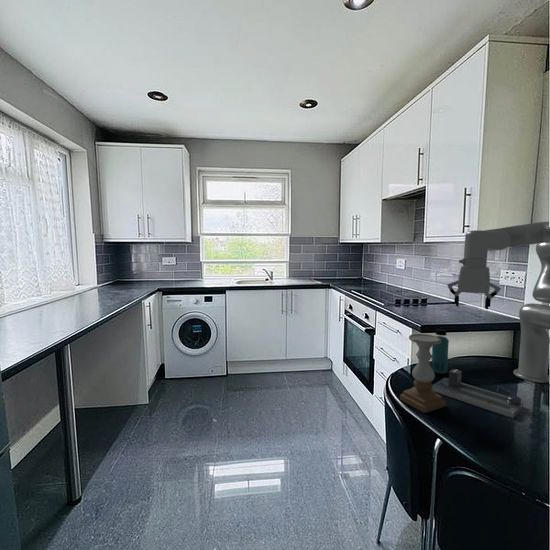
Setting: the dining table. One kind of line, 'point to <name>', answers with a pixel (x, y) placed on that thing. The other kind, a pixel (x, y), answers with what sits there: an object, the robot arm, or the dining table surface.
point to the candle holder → (423, 377)
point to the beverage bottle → (440, 353)
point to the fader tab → (455, 378)
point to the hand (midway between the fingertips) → (471, 307)
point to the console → (481, 398)
